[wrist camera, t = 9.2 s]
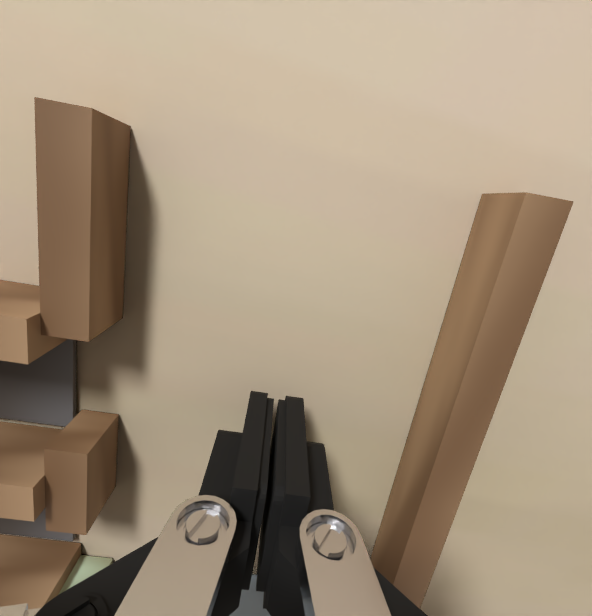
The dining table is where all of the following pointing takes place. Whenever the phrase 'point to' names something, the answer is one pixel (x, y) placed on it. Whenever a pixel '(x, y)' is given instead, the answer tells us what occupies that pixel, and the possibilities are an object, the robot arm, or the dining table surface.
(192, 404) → the dining table surface
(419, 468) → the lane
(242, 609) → the block
